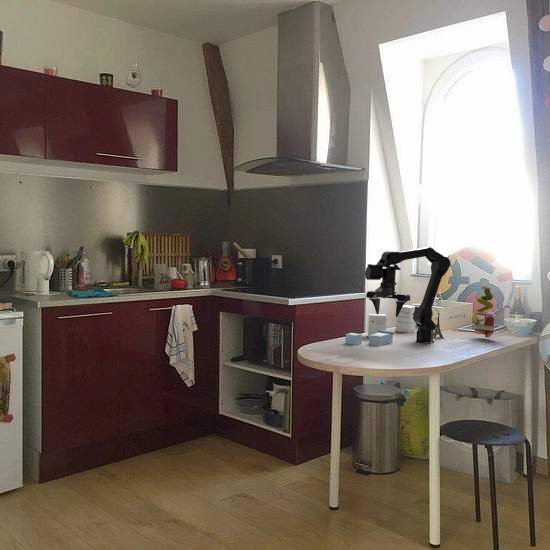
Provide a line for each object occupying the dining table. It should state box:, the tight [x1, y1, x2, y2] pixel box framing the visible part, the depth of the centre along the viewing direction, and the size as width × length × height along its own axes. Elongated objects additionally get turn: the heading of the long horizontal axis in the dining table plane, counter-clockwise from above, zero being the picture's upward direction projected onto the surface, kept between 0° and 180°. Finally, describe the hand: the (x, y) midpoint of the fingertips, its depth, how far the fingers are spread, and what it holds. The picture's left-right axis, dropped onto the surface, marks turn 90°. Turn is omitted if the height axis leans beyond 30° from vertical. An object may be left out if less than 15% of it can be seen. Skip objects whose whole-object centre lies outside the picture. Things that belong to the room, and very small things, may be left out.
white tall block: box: [395, 304, 417, 334], centre depth 316 cm, size 7×7×13 cm
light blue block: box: [344, 332, 362, 346], centre depth 276 cm, size 5×5×4 cm
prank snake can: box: [471, 284, 495, 338], centre depth 300 cm, size 12×10×25 cm
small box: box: [367, 313, 387, 338], centre depth 295 cm, size 8×6×10 cm
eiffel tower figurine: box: [433, 312, 455, 342], centre depth 298 cm, size 15×10×13 cm
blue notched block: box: [368, 330, 396, 347], centre depth 279 cm, size 7×13×5 cm, turn 144°
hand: (387, 315), depth 280 cm, fingers open, 9 cm apart
